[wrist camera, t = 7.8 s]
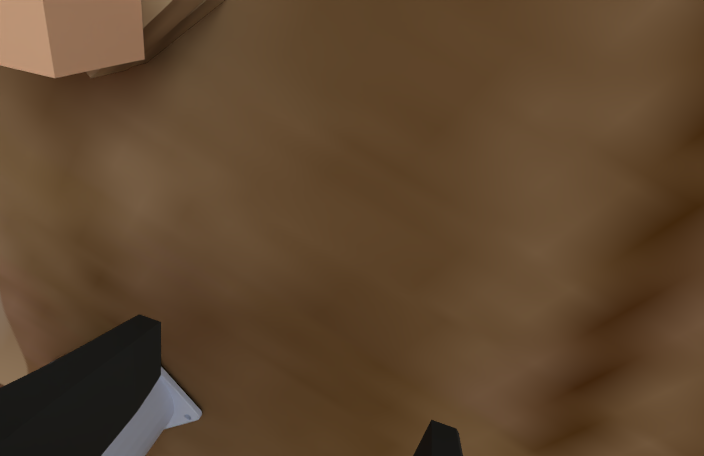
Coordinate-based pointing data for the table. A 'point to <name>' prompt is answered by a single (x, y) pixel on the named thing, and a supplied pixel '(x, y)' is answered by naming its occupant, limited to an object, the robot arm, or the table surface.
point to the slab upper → (154, 26)
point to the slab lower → (181, 28)
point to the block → (69, 35)
